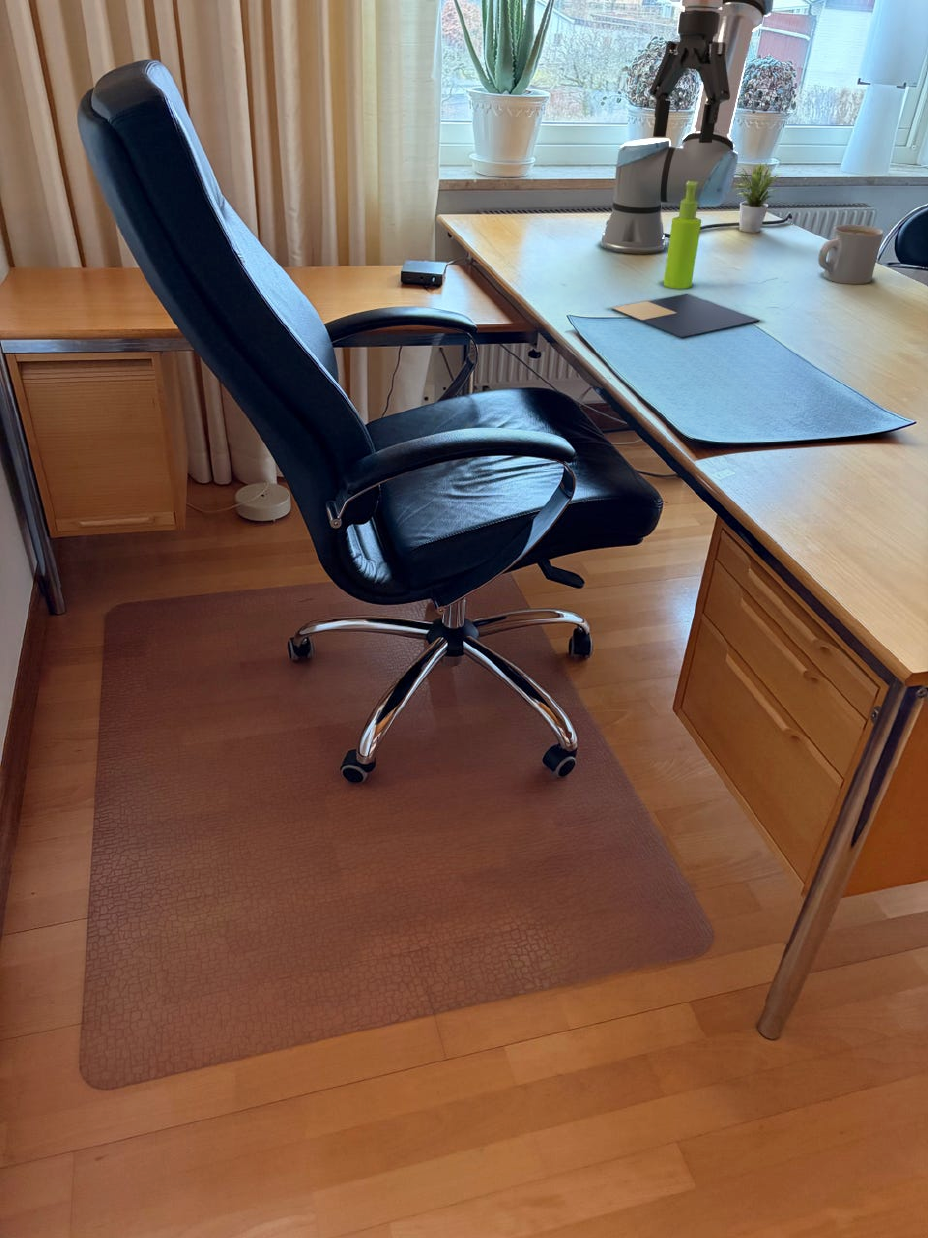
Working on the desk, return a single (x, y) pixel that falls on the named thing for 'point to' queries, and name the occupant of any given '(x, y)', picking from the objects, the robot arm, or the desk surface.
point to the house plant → (754, 200)
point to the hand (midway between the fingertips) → (681, 139)
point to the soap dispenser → (683, 242)
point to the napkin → (684, 315)
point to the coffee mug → (851, 254)
